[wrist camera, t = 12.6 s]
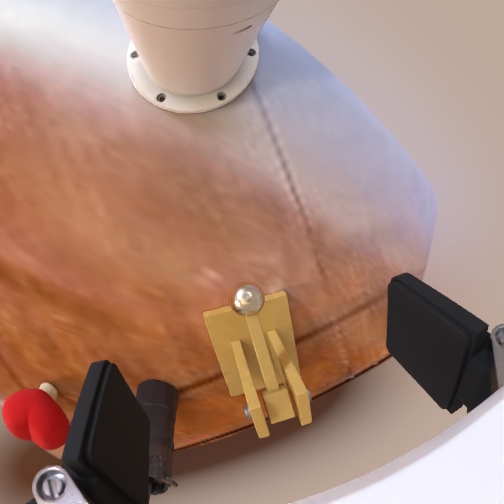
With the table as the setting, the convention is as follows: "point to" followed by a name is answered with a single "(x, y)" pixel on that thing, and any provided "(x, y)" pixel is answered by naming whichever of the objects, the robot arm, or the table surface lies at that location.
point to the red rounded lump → (37, 417)
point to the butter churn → (159, 431)
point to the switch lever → (261, 349)
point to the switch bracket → (245, 360)
